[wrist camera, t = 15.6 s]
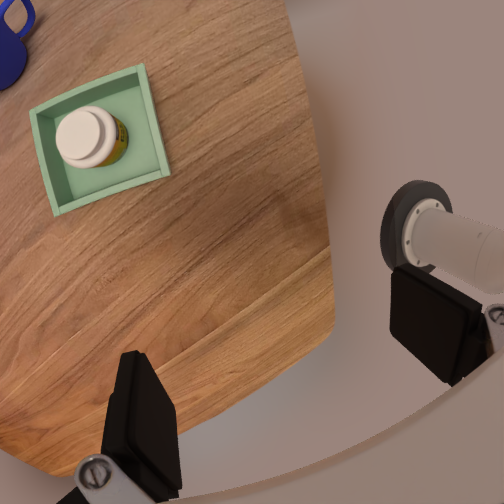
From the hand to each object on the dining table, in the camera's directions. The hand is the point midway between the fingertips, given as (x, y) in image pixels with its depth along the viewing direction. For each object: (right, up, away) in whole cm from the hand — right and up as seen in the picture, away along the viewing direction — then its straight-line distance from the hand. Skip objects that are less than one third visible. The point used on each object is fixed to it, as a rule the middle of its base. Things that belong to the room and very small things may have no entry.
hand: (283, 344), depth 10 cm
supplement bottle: (-17, +15, +18) cm, 29 cm away
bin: (-17, +15, +18) cm, 29 cm away
